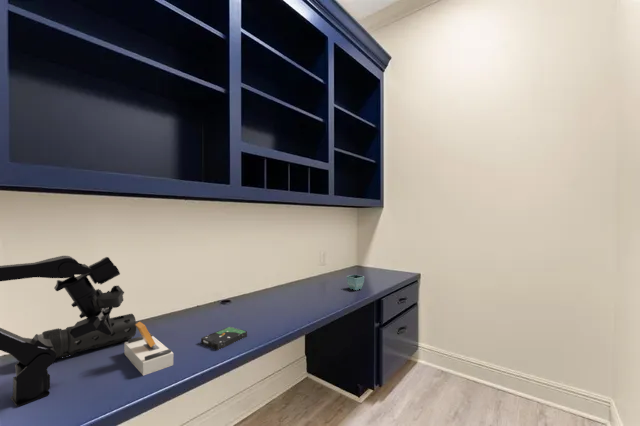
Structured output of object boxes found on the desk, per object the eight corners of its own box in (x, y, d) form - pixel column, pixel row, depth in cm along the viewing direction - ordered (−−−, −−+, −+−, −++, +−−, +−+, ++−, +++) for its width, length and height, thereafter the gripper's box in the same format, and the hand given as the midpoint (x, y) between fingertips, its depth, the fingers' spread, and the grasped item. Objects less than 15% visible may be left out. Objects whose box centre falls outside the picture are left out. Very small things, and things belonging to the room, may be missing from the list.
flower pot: (355, 292, 194) (356, 278, 194) (346, 289, 201) (346, 275, 201) (364, 289, 200) (364, 276, 200) (354, 287, 207) (355, 274, 207)
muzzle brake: (136, 342, 115) (136, 315, 115) (37, 370, 94) (37, 337, 94) (128, 335, 122) (128, 310, 122) (33, 360, 101) (34, 329, 101)
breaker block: (143, 375, 92) (143, 359, 92) (124, 354, 106) (124, 339, 106) (173, 365, 99) (173, 349, 99) (152, 345, 112) (152, 332, 112)
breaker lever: (152, 350, 101) (140, 328, 98) (146, 344, 105) (134, 324, 102) (157, 346, 102) (145, 325, 99) (151, 341, 106) (139, 320, 103)
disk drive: (218, 352, 110) (247, 337, 123) (218, 344, 110) (247, 330, 123) (200, 345, 115) (230, 331, 128) (200, 337, 115) (230, 325, 128)
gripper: (98, 299, 82) (127, 342, 87) (122, 269, 99) (144, 307, 104) (55, 315, 80) (86, 358, 85) (87, 283, 97) (111, 320, 102)
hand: (110, 333), depth 94 cm, fingers closed
